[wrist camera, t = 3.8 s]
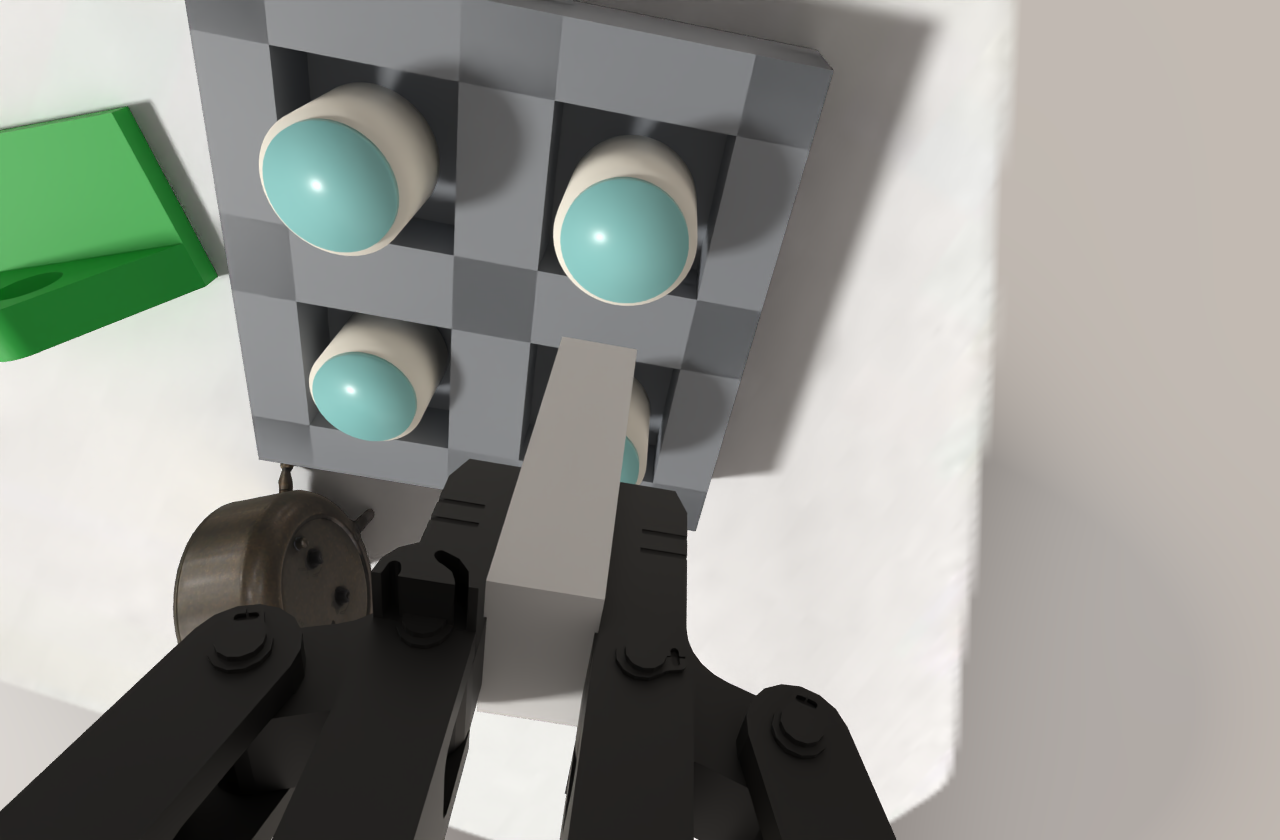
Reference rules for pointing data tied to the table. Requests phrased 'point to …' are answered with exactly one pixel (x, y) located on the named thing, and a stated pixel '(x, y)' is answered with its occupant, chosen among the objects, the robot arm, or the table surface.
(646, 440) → the button
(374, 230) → the button
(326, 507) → the alarm clock
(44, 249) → the bracket
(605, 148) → the button
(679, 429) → the button board
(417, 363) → the button
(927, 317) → the table surface
